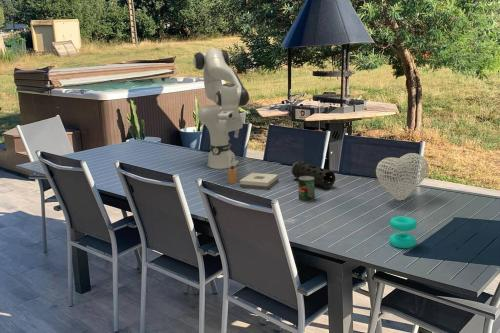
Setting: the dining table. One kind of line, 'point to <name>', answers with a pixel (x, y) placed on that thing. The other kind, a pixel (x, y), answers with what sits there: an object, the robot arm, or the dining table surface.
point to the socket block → (259, 181)
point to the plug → (232, 175)
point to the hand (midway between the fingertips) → (232, 139)
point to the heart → (379, 174)
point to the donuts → (403, 238)
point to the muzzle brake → (314, 174)
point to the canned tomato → (306, 188)
